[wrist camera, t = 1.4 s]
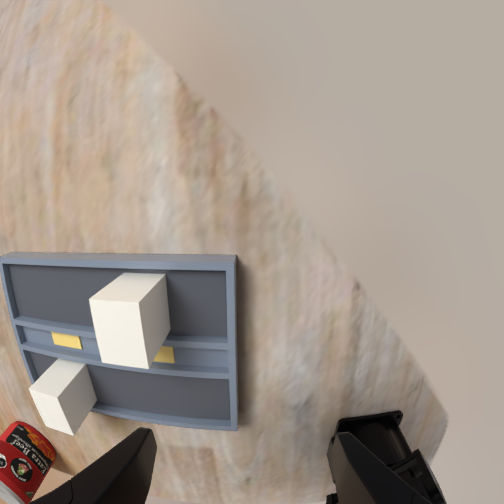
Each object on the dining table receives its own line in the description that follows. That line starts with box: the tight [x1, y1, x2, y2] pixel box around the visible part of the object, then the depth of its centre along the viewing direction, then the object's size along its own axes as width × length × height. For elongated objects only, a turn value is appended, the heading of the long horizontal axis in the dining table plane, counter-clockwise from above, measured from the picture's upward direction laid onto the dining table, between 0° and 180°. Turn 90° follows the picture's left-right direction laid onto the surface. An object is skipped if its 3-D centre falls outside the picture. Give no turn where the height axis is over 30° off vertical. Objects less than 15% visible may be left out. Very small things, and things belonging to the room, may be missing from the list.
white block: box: [29, 358, 97, 436], centre depth 19 cm, size 3×4×5 cm
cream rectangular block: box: [89, 273, 171, 369], centre depth 17 cm, size 3×4×5 cm
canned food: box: [0, 421, 56, 504], centre depth 21 cm, size 8×8×11 cm
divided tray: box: [0, 252, 239, 431], centre depth 21 cm, size 20×14×2 cm
